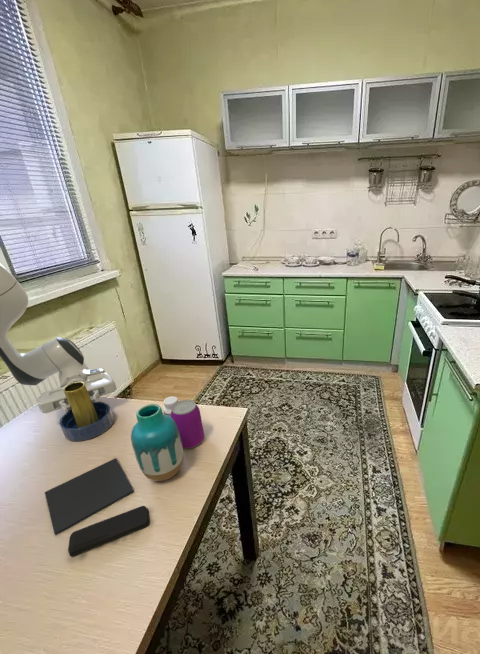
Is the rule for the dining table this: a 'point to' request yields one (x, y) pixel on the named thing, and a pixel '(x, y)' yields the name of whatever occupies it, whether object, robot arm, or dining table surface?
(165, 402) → the pill bottle
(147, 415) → the vase
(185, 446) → the beverage can
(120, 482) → the mat
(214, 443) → the dining table surface
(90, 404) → the vase
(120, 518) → the remote control
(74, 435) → the bowl
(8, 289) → the robot arm
